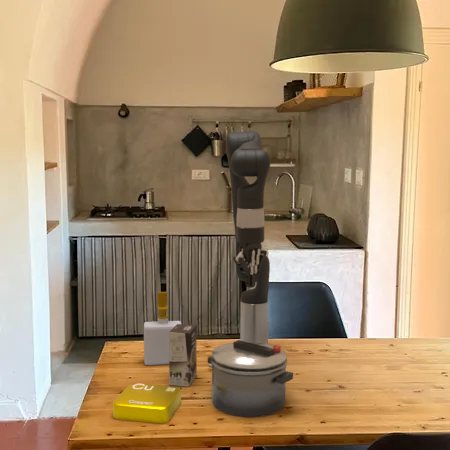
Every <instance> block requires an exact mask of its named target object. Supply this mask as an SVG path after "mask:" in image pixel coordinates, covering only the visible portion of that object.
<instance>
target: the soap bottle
mask: <svg viewBox="0 0 450 450" xmlns="http://www.w3.org/2000/svg"><path fill="white" fill-rule="evenodd" d="M168 293H169V292H168V291H157V310H158V312H159V313H160V314H158V315H157V321H145V322H144V323H143V358H144V360H143V361H144V365H145V366H158V365H159V366H161V365H169V332H170V331H171V330H172V329H173V328H174V327H175V326H176V325H177V324H182V321H181V320H169V315H168V314H166V313H167V312H168V310H169V306H168Z"/></svg>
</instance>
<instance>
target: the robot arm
mask: <svg viewBox="0 0 450 450" xmlns="http://www.w3.org/2000/svg"><path fill="white" fill-rule="evenodd" d="M225 147H226V149H225V150H226V156H227V162H228V169H229V177H230V186H231V188H230V189H231V205H232V218H233V225H234V235H235V237H234V238H235V255H234V256H233V262H234V263H235V269H236V270H235V271H236V272H235V273H236V276H237V278H238V279H239V280H240V281H244V283H245V287H246V288H250V289H247V290H244V291H242V292H241V294H240V327H239V328H240V332H239V333H240V334H239V335H240V336H239V340H240V341H244V342H258V343H265V344H269V323H270V322H269V321H268V308H269V307H268V303H269V299H268V298H269V288H270V287H269V286H270V283H269V282H270V272H271V264H270V262H271V261H270V259H269V257H268V256H267V250H264V249H263V247H262V246H263V245H262V243H264V242H265V212H264V210H265V209H264V206H265V205H264V193H265V186H266V182H267V178H268V174H269V173H270V172H269V171H270V167H271V160H272V159H271V156H270V154H269V153H268V152H267V151H266V150H263V148H262V138H261V136H260V134H259V132H257V131H255V130H248V131H247V130H246V131H245V130H243V131H235V132H229V133H227V135H226V138H225ZM246 177H256V179H255V181H254V182H252V183H250V182H249V181H248V180H247V178H246ZM251 288H252V289H251Z"/></svg>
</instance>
